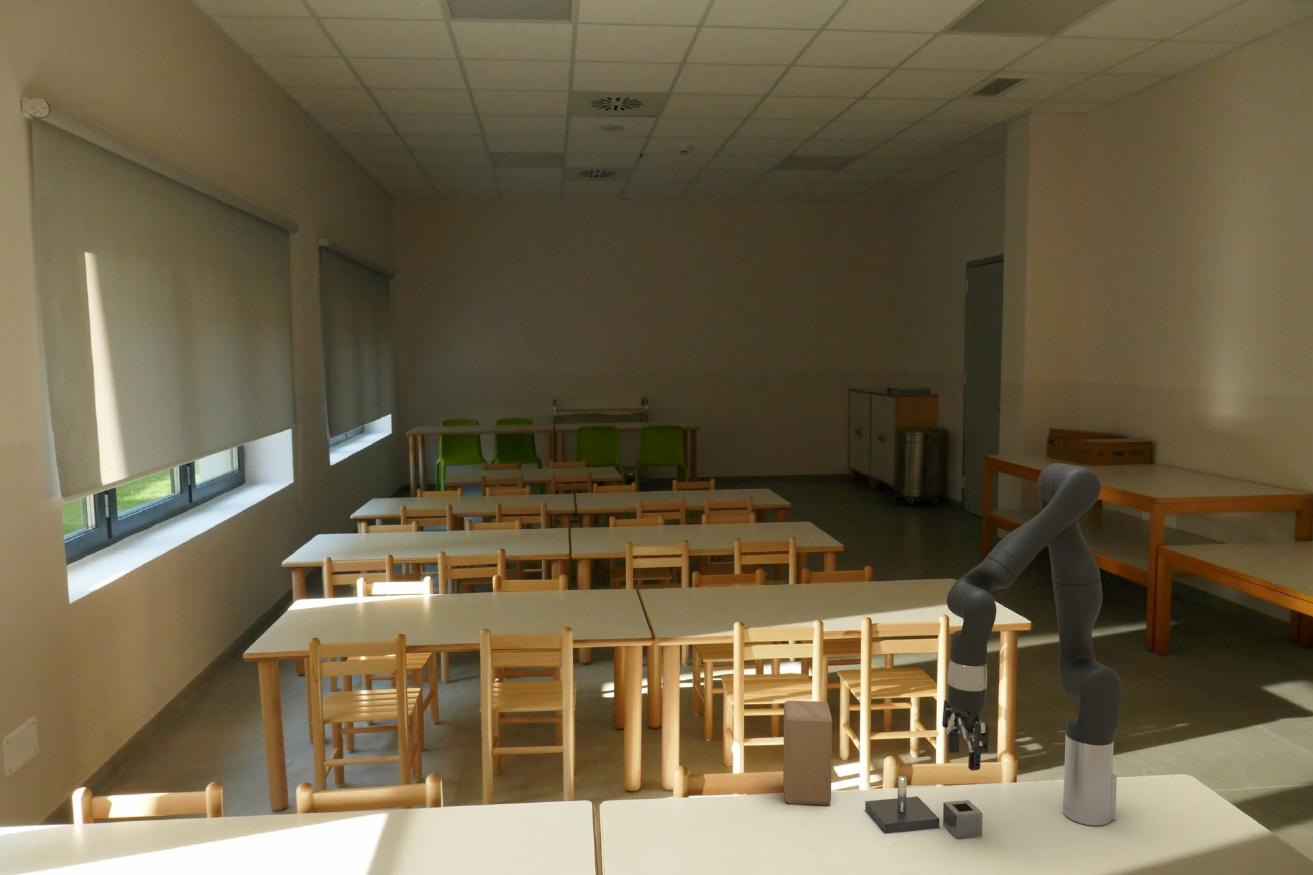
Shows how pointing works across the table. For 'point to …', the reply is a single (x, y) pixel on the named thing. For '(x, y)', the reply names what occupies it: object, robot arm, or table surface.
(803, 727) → the wooden block
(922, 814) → the shaft block
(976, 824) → the collar
